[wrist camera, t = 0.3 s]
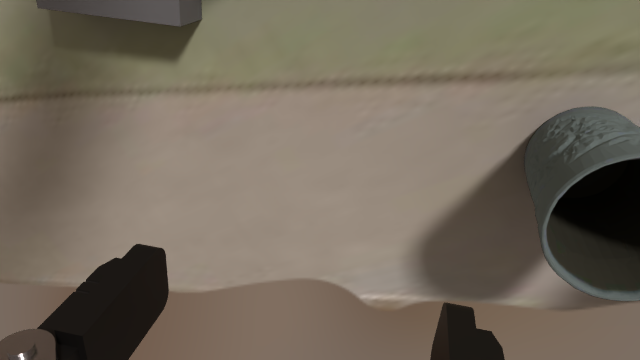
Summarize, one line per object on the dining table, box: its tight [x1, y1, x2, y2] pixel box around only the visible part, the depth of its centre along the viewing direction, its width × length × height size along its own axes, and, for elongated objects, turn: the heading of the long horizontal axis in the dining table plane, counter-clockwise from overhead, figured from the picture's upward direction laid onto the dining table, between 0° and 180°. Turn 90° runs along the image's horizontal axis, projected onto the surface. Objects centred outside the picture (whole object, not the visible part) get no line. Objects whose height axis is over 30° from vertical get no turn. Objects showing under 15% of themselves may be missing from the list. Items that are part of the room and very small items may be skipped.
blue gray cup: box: [524, 107, 640, 301], centre depth 34 cm, size 10×10×12 cm
